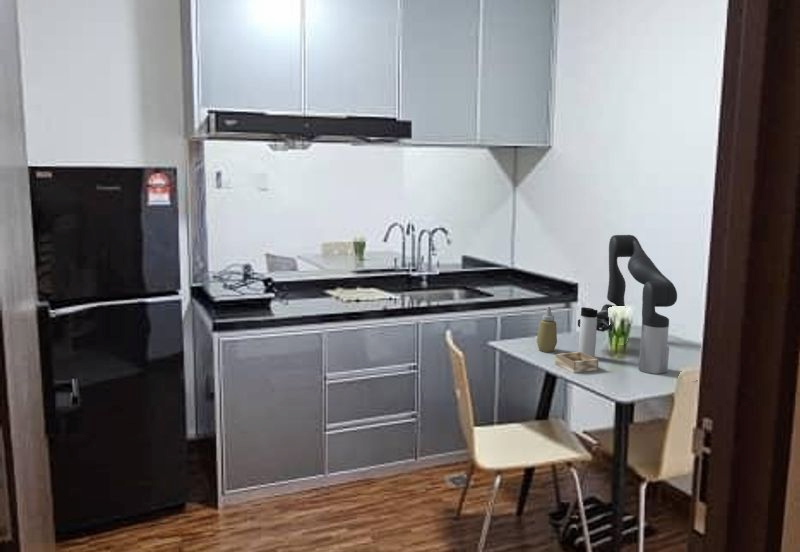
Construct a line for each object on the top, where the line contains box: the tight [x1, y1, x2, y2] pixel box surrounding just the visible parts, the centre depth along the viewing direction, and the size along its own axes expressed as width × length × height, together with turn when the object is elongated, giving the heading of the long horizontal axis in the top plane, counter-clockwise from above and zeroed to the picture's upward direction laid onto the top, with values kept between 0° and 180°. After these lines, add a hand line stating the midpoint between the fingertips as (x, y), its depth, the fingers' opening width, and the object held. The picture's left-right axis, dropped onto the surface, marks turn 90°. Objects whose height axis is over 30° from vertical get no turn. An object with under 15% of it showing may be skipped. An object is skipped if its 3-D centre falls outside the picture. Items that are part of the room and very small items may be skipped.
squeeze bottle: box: [536, 306, 558, 353], centre depth 278 cm, size 8×8×18 cm
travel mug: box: [577, 306, 599, 358], centre depth 268 cm, size 6×7×20 cm
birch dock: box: [554, 351, 599, 374], centre depth 256 cm, size 11×11×4 cm
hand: (591, 327), depth 272 cm, fingers open, 8 cm apart
